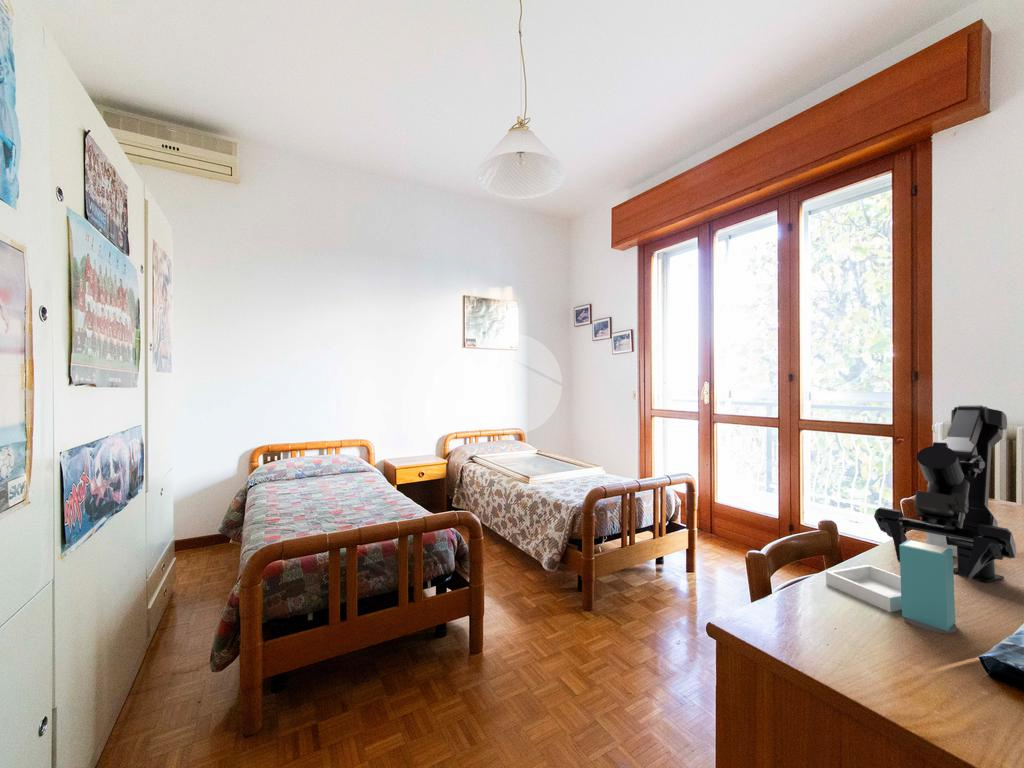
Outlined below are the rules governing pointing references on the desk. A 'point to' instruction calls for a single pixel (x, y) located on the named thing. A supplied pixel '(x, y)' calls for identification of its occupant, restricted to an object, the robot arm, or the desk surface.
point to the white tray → (869, 585)
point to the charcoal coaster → (930, 628)
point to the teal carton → (927, 584)
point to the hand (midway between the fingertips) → (931, 569)
